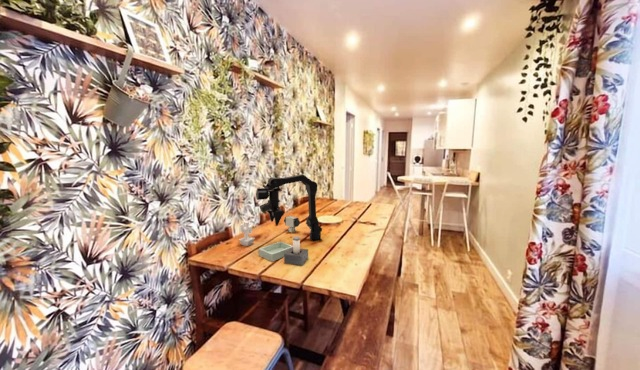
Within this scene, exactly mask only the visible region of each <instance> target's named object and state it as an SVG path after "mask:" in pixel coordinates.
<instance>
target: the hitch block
mask: <svg viewBox="0 0 640 370" xmlns="http://www.w3.org/2000/svg"><path fill="white" fill-rule="evenodd" d="M308 259H309V249H306V248H300V254H294V253H293V248H292V247H291V248H290V249H289V250H288V251H287V252H286V253H285V254H284V257H283V263H284V264H285V265H286V264H287V265H294V266H300V267H301V266H303V265H304V263H306V262H307V260H308Z"/></svg>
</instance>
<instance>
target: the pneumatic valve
mask: <svg viewBox="0 0 640 370" xmlns="http://www.w3.org/2000/svg"><path fill="white" fill-rule="evenodd" d="M283 222H284V224H285V226H286V227H288V230H287V231H288V233H295V232H296V228H297V227H299V226H300V223H301V221H300V218H299V217H298V216H297V217H296V216H293V215H287V216H285V217H284V219H283Z"/></svg>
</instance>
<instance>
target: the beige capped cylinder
mask: <svg viewBox="0 0 640 370" xmlns="http://www.w3.org/2000/svg"><path fill="white" fill-rule="evenodd" d="M300 243H301V238H300V236H293V237H292V246H293V253H294V254H300V249H301V247H300V246H301V244H300Z"/></svg>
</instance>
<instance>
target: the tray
mask: <svg viewBox="0 0 640 370" xmlns="http://www.w3.org/2000/svg"><path fill="white" fill-rule="evenodd" d="M291 247H292V248H293V244H292V245H291V244H288V243H286V242H283V241H278V242H275V243H271V244H269V245H265V246H263V247H260V248H258V256H259V257H261V258H263V259H265V260H268V261H270V262H275V261H277V260H279V259H282V258H283V259H284V254H285V253H286V252H287V251H288V250H289V249H290V248H291Z"/></svg>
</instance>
